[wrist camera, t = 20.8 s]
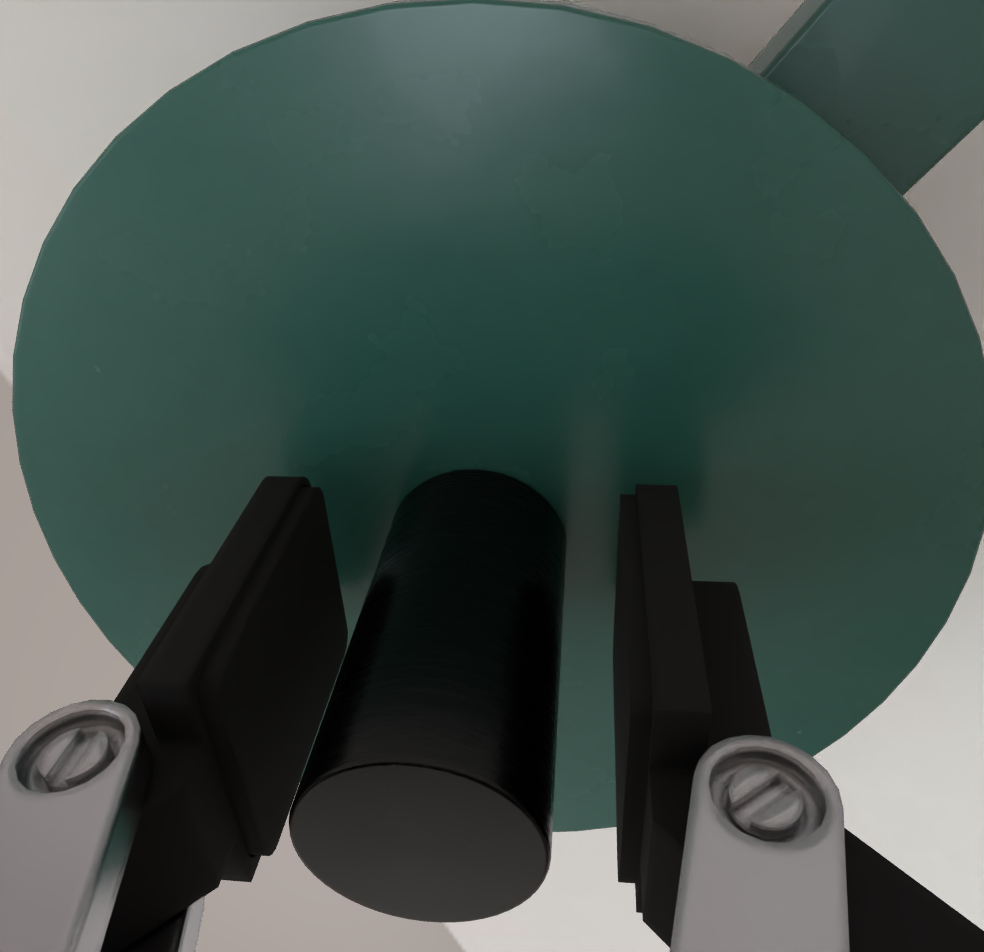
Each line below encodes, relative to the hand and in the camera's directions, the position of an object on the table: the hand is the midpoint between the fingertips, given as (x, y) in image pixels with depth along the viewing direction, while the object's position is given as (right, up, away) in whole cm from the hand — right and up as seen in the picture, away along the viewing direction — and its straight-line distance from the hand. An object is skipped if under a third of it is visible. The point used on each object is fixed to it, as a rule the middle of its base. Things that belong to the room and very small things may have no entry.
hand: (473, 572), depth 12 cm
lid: (0, +1, +1) cm, 1 cm away
